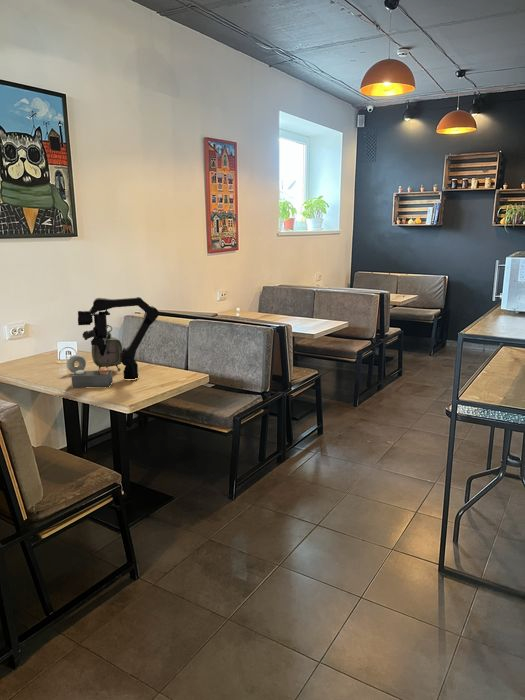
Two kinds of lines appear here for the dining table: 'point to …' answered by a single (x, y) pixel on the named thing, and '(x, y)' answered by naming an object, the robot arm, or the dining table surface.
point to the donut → (73, 359)
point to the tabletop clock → (108, 353)
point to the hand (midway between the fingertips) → (102, 355)
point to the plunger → (80, 372)
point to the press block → (92, 379)
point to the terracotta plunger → (103, 370)
